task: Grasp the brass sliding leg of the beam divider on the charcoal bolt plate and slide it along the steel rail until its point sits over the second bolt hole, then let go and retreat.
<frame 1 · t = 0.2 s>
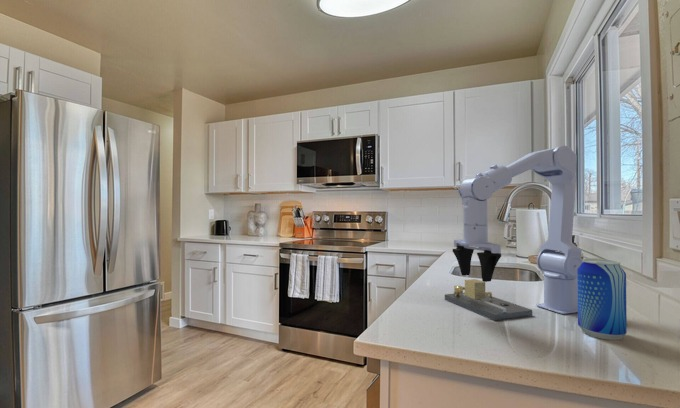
hand: (475, 278, 84), 10 cm above the counter, fingers open, 7 cm apart
beer can: (601, 334, 72), on the counter
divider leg: (480, 289, 93), point 5 cm above the counter, slide at 0.0 cm
bolt plate: (484, 306, 92), on the counter
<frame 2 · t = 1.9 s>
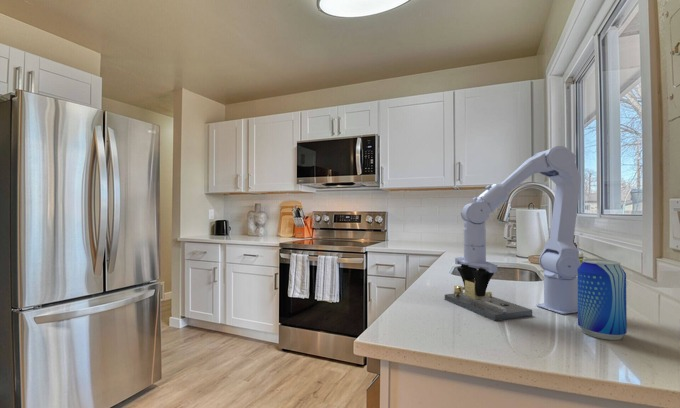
hand: (474, 293, 92), 4 cm above the counter, fingers closed on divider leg, 4 cm apart
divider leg: (480, 289, 93), point 5 cm above the counter, slide at 0.0 cm, touching gripper
everything else where it was.
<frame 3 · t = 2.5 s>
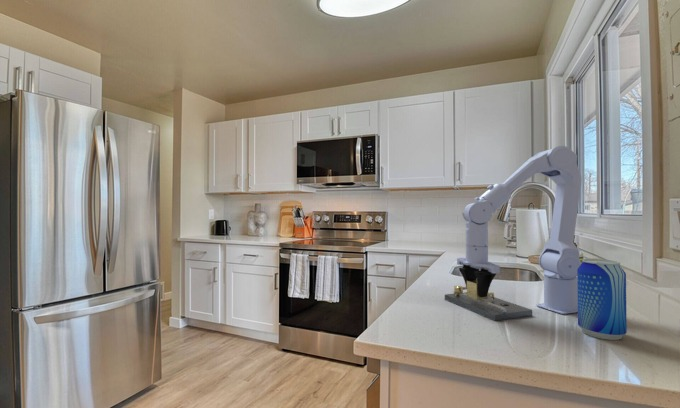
hand: (477, 294, 92), 4 cm above the counter, fingers closed on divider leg, 4 cm apart
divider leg: (482, 290, 92), point 5 cm above the counter, slide at 0.8 cm, touching gripper
everything else where it was.
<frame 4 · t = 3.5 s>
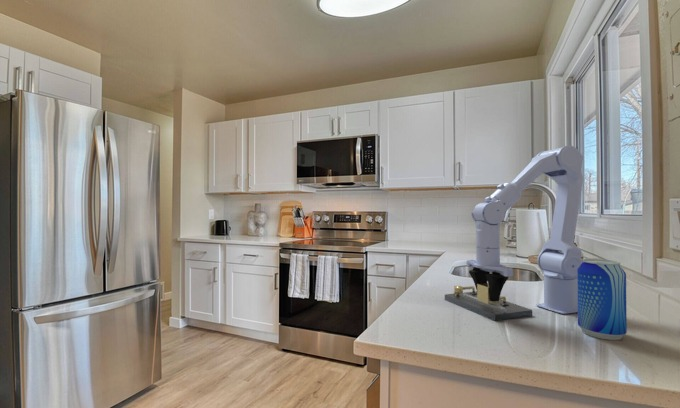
hand: (488, 298, 88), 4 cm above the counter, fingers closed on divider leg, 4 cm apart
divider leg: (494, 294, 88), point 5 cm above the counter, slide at 5.0 cm, touching gripper
everything else where it was.
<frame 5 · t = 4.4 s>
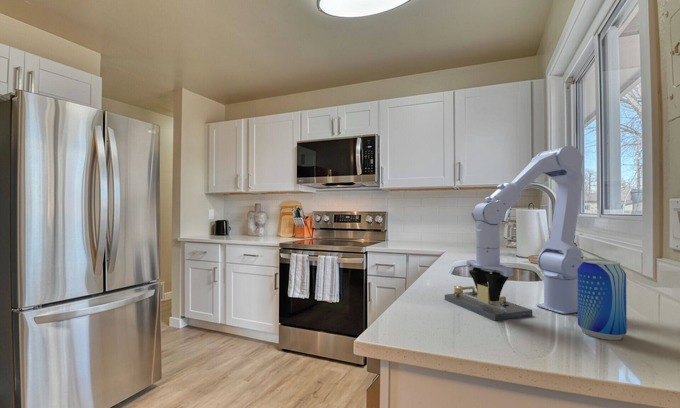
hand: (488, 298, 88), 4 cm above the counter, fingers closed on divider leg, 4 cm apart
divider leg: (494, 294, 88), point 5 cm above the counter, slide at 5.0 cm, touching gripper
everything else where it was.
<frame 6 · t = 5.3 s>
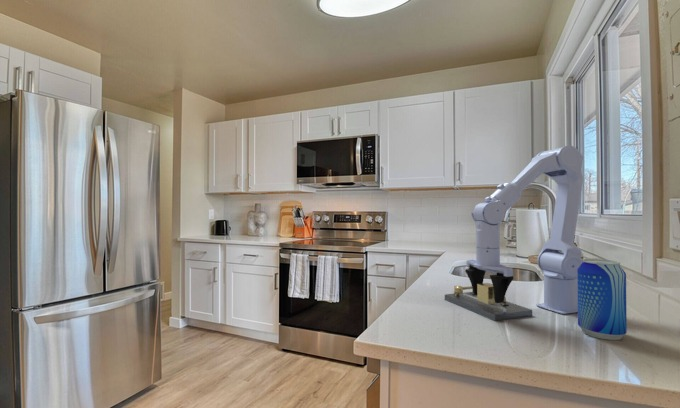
hand: (488, 298, 88), 4 cm above the counter, fingers open, 7 cm apart
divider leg: (494, 294, 88), point 5 cm above the counter, slide at 5.0 cm
everything else where it was.
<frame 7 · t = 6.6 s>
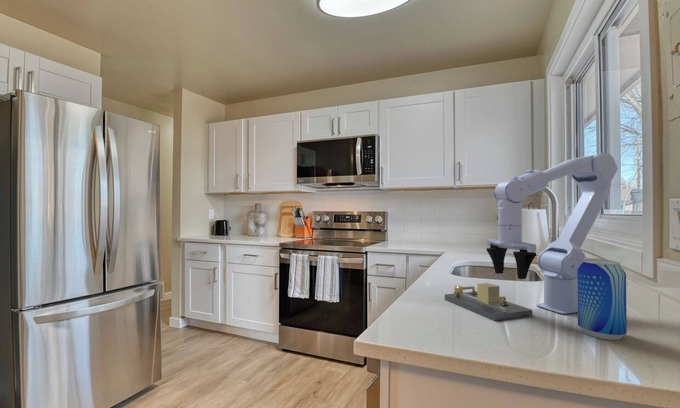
hand: (510, 275, 89), 9 cm above the counter, fingers open, 7 cm apart
nothing on the counter moved.
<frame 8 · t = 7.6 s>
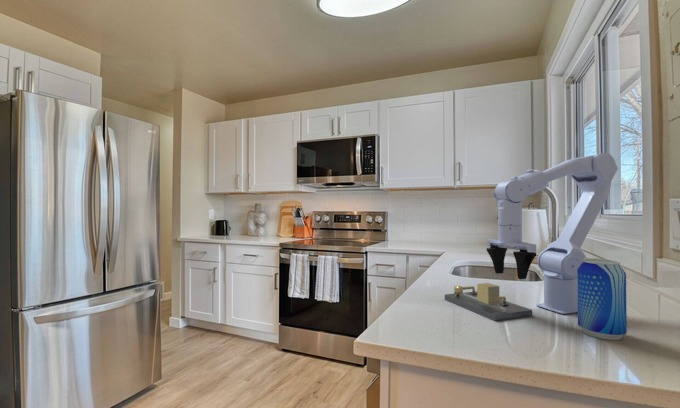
hand: (510, 275, 89), 9 cm above the counter, fingers open, 7 cm apart
nothing on the counter moved.
at the end: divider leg slide at 5.0 cm; the gripper is holding nothing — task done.
